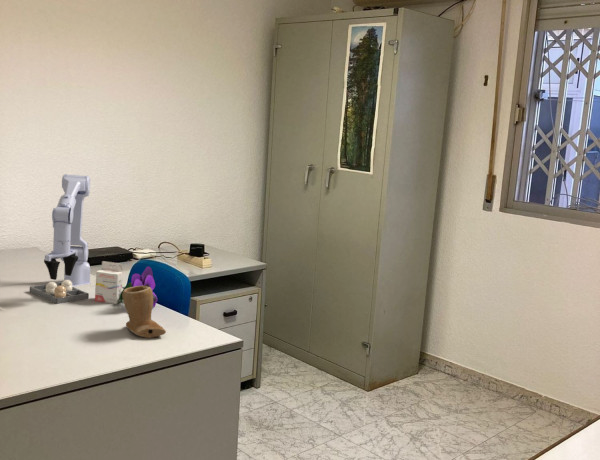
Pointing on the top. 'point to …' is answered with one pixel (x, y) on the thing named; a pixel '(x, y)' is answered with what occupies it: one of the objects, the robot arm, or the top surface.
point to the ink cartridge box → (109, 283)
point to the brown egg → (60, 292)
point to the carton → (70, 297)
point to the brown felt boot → (141, 312)
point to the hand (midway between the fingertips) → (60, 277)
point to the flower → (142, 283)
